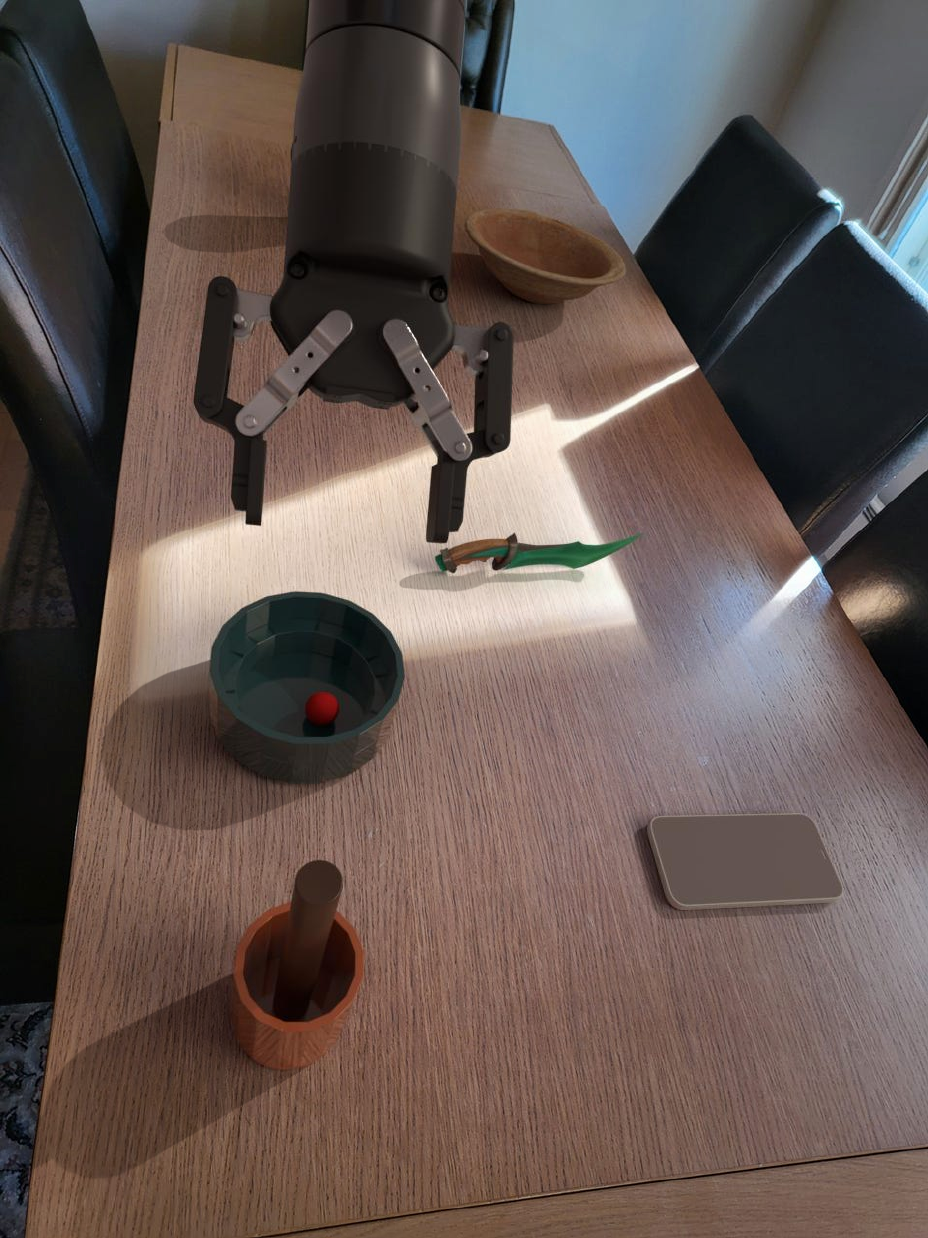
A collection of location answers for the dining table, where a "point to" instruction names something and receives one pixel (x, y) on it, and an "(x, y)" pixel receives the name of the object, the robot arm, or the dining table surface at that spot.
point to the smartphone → (742, 860)
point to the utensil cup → (257, 985)
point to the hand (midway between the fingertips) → (347, 534)
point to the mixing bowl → (303, 685)
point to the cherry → (322, 708)
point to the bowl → (542, 255)
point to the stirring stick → (306, 937)
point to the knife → (525, 553)
